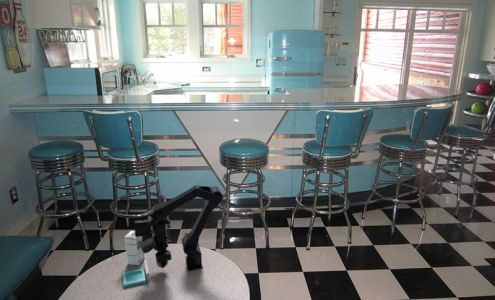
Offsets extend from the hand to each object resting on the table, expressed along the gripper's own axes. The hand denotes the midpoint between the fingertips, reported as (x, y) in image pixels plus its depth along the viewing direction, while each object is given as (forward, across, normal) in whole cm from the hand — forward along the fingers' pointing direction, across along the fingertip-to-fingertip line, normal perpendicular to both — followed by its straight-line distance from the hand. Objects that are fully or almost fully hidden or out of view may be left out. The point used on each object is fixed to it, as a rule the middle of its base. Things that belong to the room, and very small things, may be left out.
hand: (162, 264), depth 155 cm
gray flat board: (+3, 0, -7) cm, 8 cm away
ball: (+1, 0, 0) cm, 1 cm away
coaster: (+3, +2, -12) cm, 13 cm away
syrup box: (+4, -12, -11) cm, 17 cm away
